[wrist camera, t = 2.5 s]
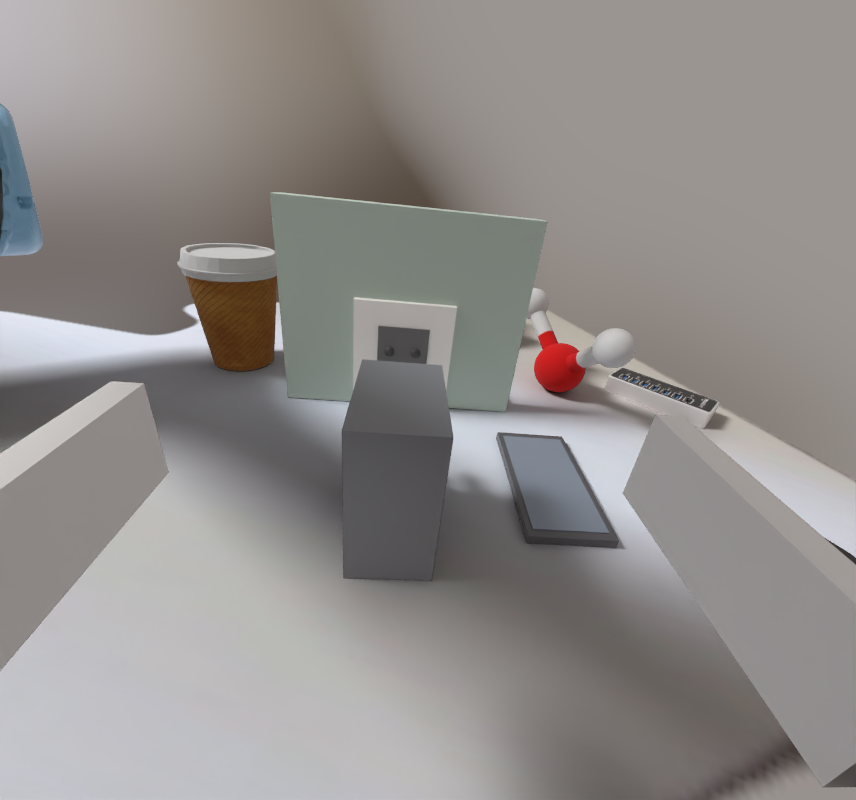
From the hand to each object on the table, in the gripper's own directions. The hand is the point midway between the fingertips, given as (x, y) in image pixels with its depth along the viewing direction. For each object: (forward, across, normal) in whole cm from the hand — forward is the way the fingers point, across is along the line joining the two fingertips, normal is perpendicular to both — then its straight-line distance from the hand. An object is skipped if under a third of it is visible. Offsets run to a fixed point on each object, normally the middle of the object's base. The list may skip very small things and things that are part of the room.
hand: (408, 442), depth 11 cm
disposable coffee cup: (+34, -18, -14) cm, 41 cm away
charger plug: (+10, 0, -14) cm, 17 cm away
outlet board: (+29, 0, -13) cm, 32 cm away
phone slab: (+15, +12, -14) cm, 24 cm away
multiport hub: (+31, +30, -14) cm, 45 cm away
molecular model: (+32, +18, -14) cm, 39 cm away
